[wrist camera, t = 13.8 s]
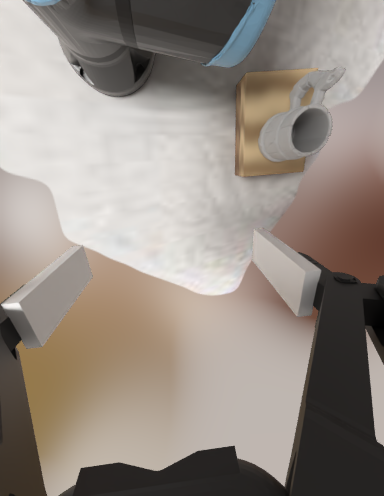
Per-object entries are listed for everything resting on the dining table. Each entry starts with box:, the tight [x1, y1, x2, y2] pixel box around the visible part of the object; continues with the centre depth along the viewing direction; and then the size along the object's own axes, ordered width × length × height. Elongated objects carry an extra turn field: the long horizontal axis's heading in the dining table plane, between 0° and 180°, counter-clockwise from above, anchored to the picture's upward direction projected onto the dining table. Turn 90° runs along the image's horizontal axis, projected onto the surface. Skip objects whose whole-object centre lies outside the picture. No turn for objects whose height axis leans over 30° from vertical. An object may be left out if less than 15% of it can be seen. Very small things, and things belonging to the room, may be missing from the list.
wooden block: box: [235, 68, 318, 177], centre depth 38 cm, size 16×12×6 cm
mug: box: [258, 67, 346, 162], centre depth 30 cm, size 8×12×12 cm, turn 171°
